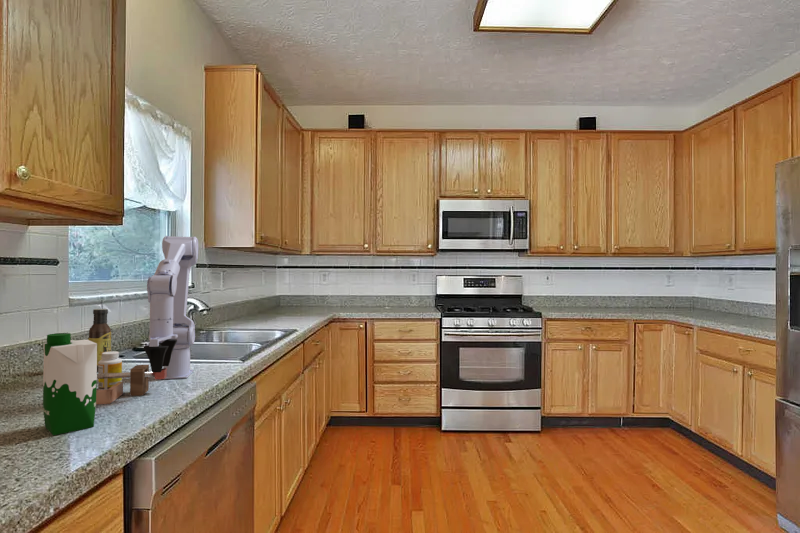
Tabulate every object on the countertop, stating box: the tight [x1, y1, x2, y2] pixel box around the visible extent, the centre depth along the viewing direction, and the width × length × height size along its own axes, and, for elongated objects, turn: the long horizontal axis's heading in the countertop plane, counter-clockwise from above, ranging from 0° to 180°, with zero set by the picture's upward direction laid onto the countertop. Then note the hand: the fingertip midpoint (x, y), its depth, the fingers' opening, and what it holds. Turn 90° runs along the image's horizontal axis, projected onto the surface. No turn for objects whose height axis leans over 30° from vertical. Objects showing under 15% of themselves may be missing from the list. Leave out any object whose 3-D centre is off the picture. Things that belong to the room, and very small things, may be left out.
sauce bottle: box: [87, 308, 112, 372], centre depth 149 cm, size 6×6×20 cm
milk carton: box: [42, 332, 98, 436], centre depth 98 cm, size 9×9×20 cm
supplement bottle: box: [97, 350, 123, 390], centre depth 127 cm, size 6×6×10 cm
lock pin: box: [97, 368, 167, 380], centre depth 123 cm, size 2×16×2 cm, turn 104°
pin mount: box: [129, 364, 150, 397], centre depth 124 cm, size 5×3×7 cm, turn 13°
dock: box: [96, 381, 124, 405], centre depth 117 cm, size 9×10×3 cm
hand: (160, 369), depth 125 cm, fingers open, 7 cm apart
